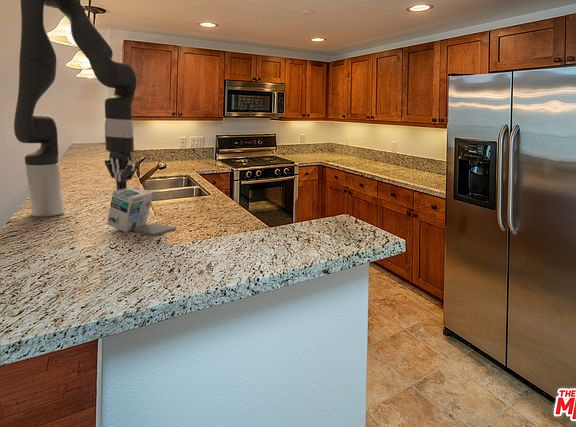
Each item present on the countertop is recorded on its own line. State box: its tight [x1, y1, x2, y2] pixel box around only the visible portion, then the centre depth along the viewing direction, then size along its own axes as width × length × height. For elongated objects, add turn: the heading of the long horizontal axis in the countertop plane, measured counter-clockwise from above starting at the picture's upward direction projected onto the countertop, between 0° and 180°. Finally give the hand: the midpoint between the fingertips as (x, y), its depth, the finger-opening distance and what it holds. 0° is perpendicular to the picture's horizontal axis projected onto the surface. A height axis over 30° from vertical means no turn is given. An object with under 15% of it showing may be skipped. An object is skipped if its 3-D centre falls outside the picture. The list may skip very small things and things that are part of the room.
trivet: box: [131, 222, 177, 237], centre depth 109 cm, size 10×8×1 cm
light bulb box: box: [106, 185, 154, 233], centre depth 110 cm, size 11×7×11 cm, turn 167°
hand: (121, 193), depth 111 cm, fingers closed
